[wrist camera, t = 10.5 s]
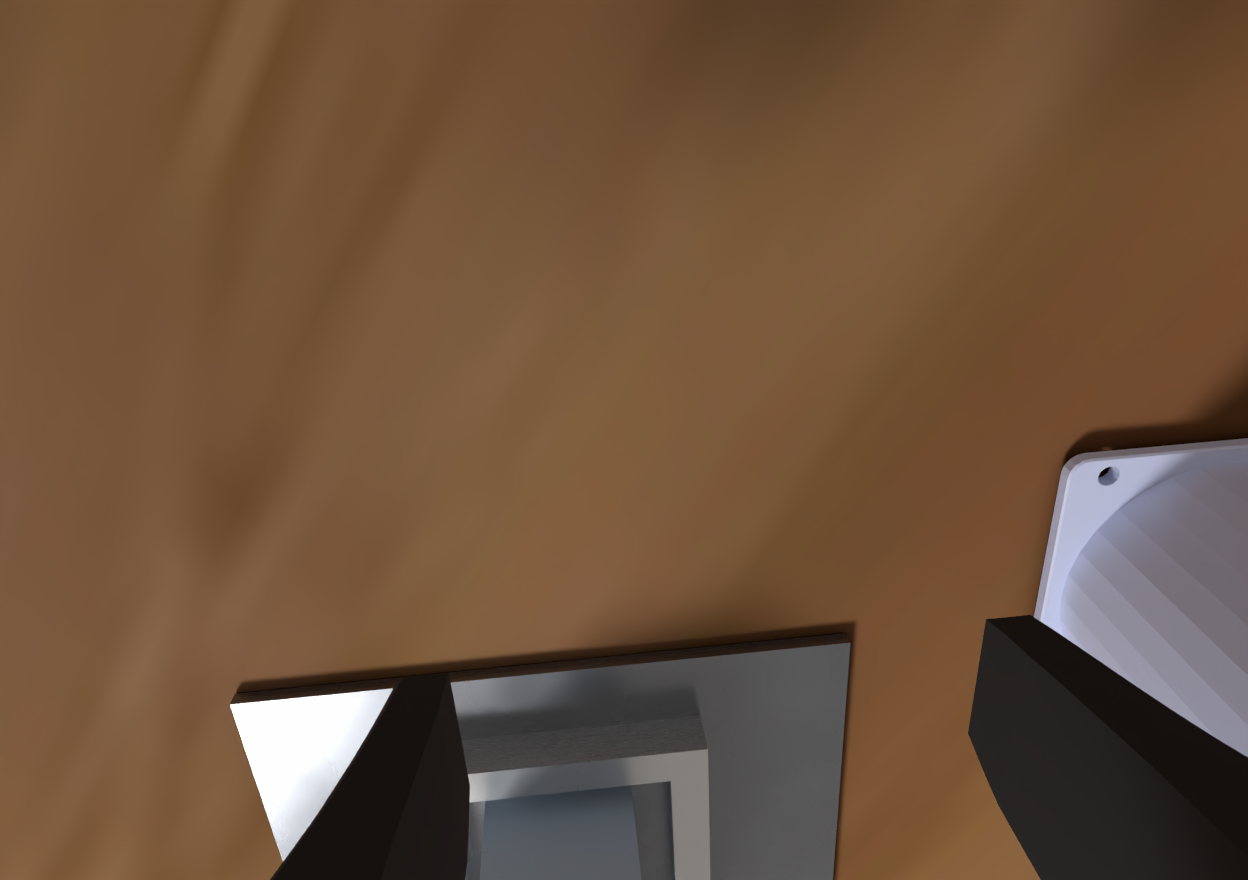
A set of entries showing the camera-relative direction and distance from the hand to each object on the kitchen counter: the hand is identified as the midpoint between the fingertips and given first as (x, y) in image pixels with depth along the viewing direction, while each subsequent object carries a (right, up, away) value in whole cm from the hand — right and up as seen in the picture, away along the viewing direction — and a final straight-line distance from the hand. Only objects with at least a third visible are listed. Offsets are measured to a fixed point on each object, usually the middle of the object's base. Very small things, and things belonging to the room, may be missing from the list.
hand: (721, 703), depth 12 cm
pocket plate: (-3, -9, +15) cm, 18 cm away
